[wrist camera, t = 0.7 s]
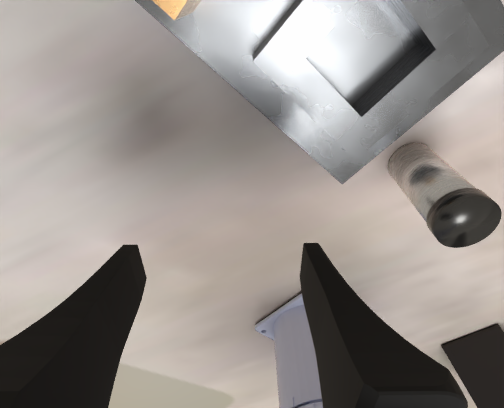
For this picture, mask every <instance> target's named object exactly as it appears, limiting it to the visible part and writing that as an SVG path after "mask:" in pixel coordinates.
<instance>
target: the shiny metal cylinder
mask: <svg viewBox="0 0 504 408" xmlns="http://www.w3.org/2000/svg"><path fill="white" fill-rule="evenodd" d="M388 171H389V174H390V175H391V176H392V178H393V179H394V180H395V182H396V183H397V184H398V186H399V187H400V188H401V190H402V191H403V192H404V193H405V195H406V196H407V197H408V199H409V200H410V201H411V203H412V204H413V205H414V206H415V208H416V209H417V210H418V212H419V213H420V214H421V216H422V217H423V218H424V220H425V221H426V222H427V226H428V228H429V229H430V231H431V232H432V233H433V235H434V236H435V237H436V238H437V240H438V241H439V242H440V243H441V244H443V245H445V246H448V247H454V248H458V247H466V246H469V245H472V244H475V243H477V242H479V241H481V240H483V239H484V238H486V237H487V236H488V235H490V234H491V233H492V232H493V231H494V230H495V228H496V227H497V226H498V224H499V222H500V219H501V209H500V207H499V205H498V204H497V203H495V202H494V201H493V200H492V199H491V198H490V197H489V196H487V195H486V194H485V193H484V192H482V191H481V190H479V189H476V188H475V187H474V186H473V185H471V184H470V183H469V182H468V181H467V180H466V179H465V178H463V177H462V176H461V175H460V174H459V173H458V172H457V171H455V170H454V169H453V168H452V167H451V166H450V165H449V164H447V163H446V162H445V161H444V160H443V159H442V158H441V157H439V156H438V155H437V154H436V153H435V152H434V151H433V150H431V149H430V148H429V147H428V146H427V145H425V144H423V143H410V144H407V145H404V146H402V147H401V148H399V149H398V150H397V151H396V152H395V153H394V154H393V155H392V156H391V158H390V160H389V163H388Z"/></svg>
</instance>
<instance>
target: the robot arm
mask: <svg viewBox="0 0 504 408" xmlns="http://www.w3.org/2000/svg"><path fill="white" fill-rule="evenodd" d="M300 282H301V290H302V293H301V294H300V295H298V296H297V297H295V298H294V299H292V300H291V301H290V302H288V303H287V304H285V305H284V306H282V307H281V308H279V309H278V310H277V311H275V312H274V313H272V314H271V315H269V316H268V317H266V318H265V319H264V320H262V321H261V322H259V323H258V324H256V325H255V330H256V331H257V332H259V333H261V334H263V335H265V336H266V337H268V338H270V339H272V340H274V343H275V356H276V369H277V382H278V395H279V408H467V407H468V402H467V400H466V398H465V396H464V394H463V392H462V390H461V389H460V387H459V385H458V383H457V382H456V380H455V379H454V377H453V376H452V374H451V373H450V371H449V370H448V369H447V368H446V367H444V366H443V365H441V364H440V363H438V362H437V361H435V360H433V359H432V358H430V357H429V356H427V355H426V354H424V353H423V352H422V351H420V350H419V349H417V348H416V347H415V346H413V345H412V344H411V343H409V342H408V341H407V340H405V339H404V338H403V337H402V336H400V335H399V334H398V333H397V332H396V331H394V330H393V329H392V328H391V327H390V326H388V325H387V324H386V323H385V322H384V321H383V320H382V319H380V318H379V317H378V316H377V315H376V314H375V313H374V312H373V311H372V310H371V309H370V308H369V307H368V306H367V305H366V304H365V303H364V302H363V301H362V300H361V299H360V298H359V296H358V295H357V294H356V293H355V292H354V291H353V290H352V288H351V287H350V286H349V285H348V284H347V282H346V281H345V280H344V279H343V277H342V276H341V275H340V273H339V272H338V271H337V270H336V268H335V267H334V265H333V264H332V263H331V261H330V260H329V258H328V257H327V255H326V254H325V252H324V251H323V249H322V248H321V246H320V245H319V244H318V243H304V245H303V254H302V262H301V271H300ZM145 283H146V274H145V270H144V267H143V263H142V259H141V256H140V252H139V248H138V245H123V246H122V247H121V248H120V249H119V250H118V251H117V252H116V253H115V254H114V255H113V256H112V257H111V258H110V259H109V260H108V261H107V262H106V263H105V264H104V265H103V266H102V267H101V268H100V269H99V270H98V271H97V272H96V273H95V274H93V275H92V276H91V277H90V278H89V279H88V280H87V281H86V282H85V283H84V284H83V285H82V286H81V287H79V288H78V289H77V290H76V291H75V292H74V293H73V294H72V295H70V296H69V297H68V298H67V299H66V300H65V301H63V302H62V303H61V304H60V305H58V306H57V307H56V308H54V309H53V310H52V311H51V312H49V313H48V314H47V315H45V316H44V317H42V318H41V319H40V320H38V321H37V322H35V323H34V324H32V325H31V326H29V327H28V328H26V329H25V330H23V331H22V332H21V333H19V334H18V335H16V336H14V337H13V338H11V339H10V340H8V341H6V342H5V343H3V344H2V345H0V408H108V405H109V401H110V396H111V392H112V389H113V385H114V381H115V377H116V373H117V369H118V365H119V362H120V358H121V355H122V352H123V349H124V346H125V343H126V341H127V338H128V335H129V333H130V330H131V327H132V325H133V322H134V319H135V317H136V314H137V311H138V308H139V306H140V303H141V300H142V296H143V292H144V287H145Z"/></svg>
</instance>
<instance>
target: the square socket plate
mask: <svg viewBox="0 0 504 408" xmlns="http://www.w3.org/2000/svg"><path fill="white" fill-rule="evenodd" d="M135 1H136V2H137V3H139V4H140V5H141V6H142V7H143V8H144V9H145V10H146V11H148V12H149V13H150V14H151V15H152V16H153V17H154V18H155V19H157V20H158V21H159V22H160V23H161V24H162V25H163V26H164V27H166V28H167V29H168V30H169V31H170V32H171V33H172V34H173V35H175V36H176V37H177V38H178V39H179V40H180V41H181V42H182V43H184V44H185V45H186V46H187V47H188V48H189V49H190V50H192V51H193V52H194V53H195V54H196V55H197V56H198V57H199V58H201V59H202V60H203V61H204V62H205V63H206V64H207V65H208V66H210V67H211V68H212V69H213V70H214V71H215V72H216V73H217V74H219V75H220V76H221V77H222V78H223V79H224V80H225V81H226V82H228V83H229V84H230V85H231V86H232V87H233V88H234V89H235V90H237V91H238V92H239V93H240V94H241V95H242V96H243V97H244V98H246V99H247V100H248V101H249V102H250V103H251V104H252V105H253V106H255V107H256V108H257V109H258V110H259V111H260V112H261V113H262V114H264V115H265V116H266V117H267V118H268V119H269V120H270V121H271V122H273V123H274V124H275V125H276V126H277V127H278V128H279V129H280V130H282V131H283V132H284V133H285V134H286V135H287V136H288V137H289V138H291V139H292V140H293V141H294V142H295V143H296V144H297V145H298V146H300V147H301V148H302V149H303V150H304V151H305V152H306V153H307V154H309V155H310V156H311V157H312V158H313V159H314V160H315V161H316V162H318V163H319V164H320V165H321V166H322V167H323V168H324V169H326V170H327V171H328V172H329V173H330V174H331V175H332V176H333V177H335V178H336V179H337V180H338V181H339V182H340V183H341V184H343V183H344V182H346V181H347V180H348V179H349V178H350V177H352V176H353V175H354V174H355V173H356V172H358V171H359V170H360V169H361V168H363V167H364V166H365V165H366V164H367V163H369V162H370V161H371V160H372V159H373V158H375V157H376V156H377V155H378V154H379V153H381V152H382V151H383V150H384V149H385V148H387V147H388V146H389V145H390V144H392V143H393V142H394V141H395V140H396V139H398V138H399V137H400V136H401V135H402V134H404V133H405V132H406V131H407V130H408V129H410V128H411V127H412V126H413V125H414V124H416V123H417V122H418V121H419V120H421V119H422V118H423V117H424V116H425V115H427V114H428V113H429V112H430V111H431V110H433V109H434V108H435V107H436V106H437V105H439V104H440V103H441V102H442V101H443V100H445V99H446V98H447V97H448V96H450V95H451V94H452V93H453V92H454V91H456V90H457V89H458V88H459V87H460V86H462V85H463V84H464V83H465V82H466V81H468V80H469V79H470V78H471V77H472V76H474V75H475V74H476V73H477V72H479V71H480V70H481V69H482V68H483V67H485V66H486V65H487V64H488V63H489V62H491V61H492V60H493V59H494V58H495V57H497V56H498V55H499V54H500V53H501V52H503V51H504V6H503V4H502V2H501V1H500V0H135Z"/></svg>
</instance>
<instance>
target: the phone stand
mask: <svg viewBox="0 0 504 408" xmlns="http://www.w3.org/2000/svg"><path fill="white" fill-rule="evenodd" d="M441 346H442V348H443V350H444V351H445V353H446V355H447V356H448V358H449V360H450V361H451V363H452V365H453V367H454V368H455V370H456V372H457V373H458V375H459V377H460V379H461V380H462V382H463V384H464V385H465V387H466V389H467V391H468V392H469V394H470V396H471V397H472V399H473V401H474V402H475V404H476V406H477V408H504V332H503V331H502V329H501V328H500V326H499V325H498V324H497V325H494V326H491V327H489V328H486V329H483V330H481V331H478V332H475V333H473V334H470V335H467V336H465V337H462V338H459V339H457V340H454V341H452V342H449V343H446V344H444V345H441Z"/></svg>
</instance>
